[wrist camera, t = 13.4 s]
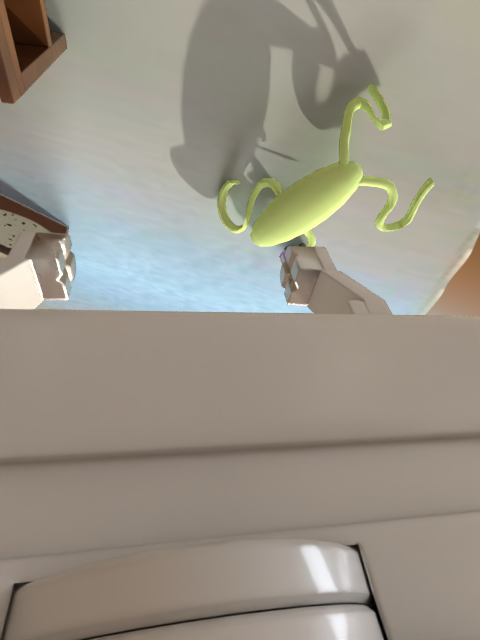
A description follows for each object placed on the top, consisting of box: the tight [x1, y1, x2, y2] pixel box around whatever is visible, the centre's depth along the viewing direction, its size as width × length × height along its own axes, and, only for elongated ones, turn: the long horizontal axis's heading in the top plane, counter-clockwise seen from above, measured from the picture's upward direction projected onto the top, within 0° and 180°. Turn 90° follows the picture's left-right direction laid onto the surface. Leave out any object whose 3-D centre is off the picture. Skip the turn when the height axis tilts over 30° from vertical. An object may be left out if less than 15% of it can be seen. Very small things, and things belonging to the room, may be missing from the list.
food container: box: [0, 193, 69, 258], centre depth 46 cm, size 12×6×10 cm, turn 51°
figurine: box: [217, 84, 434, 263], centre depth 50 cm, size 18×27×6 cm
